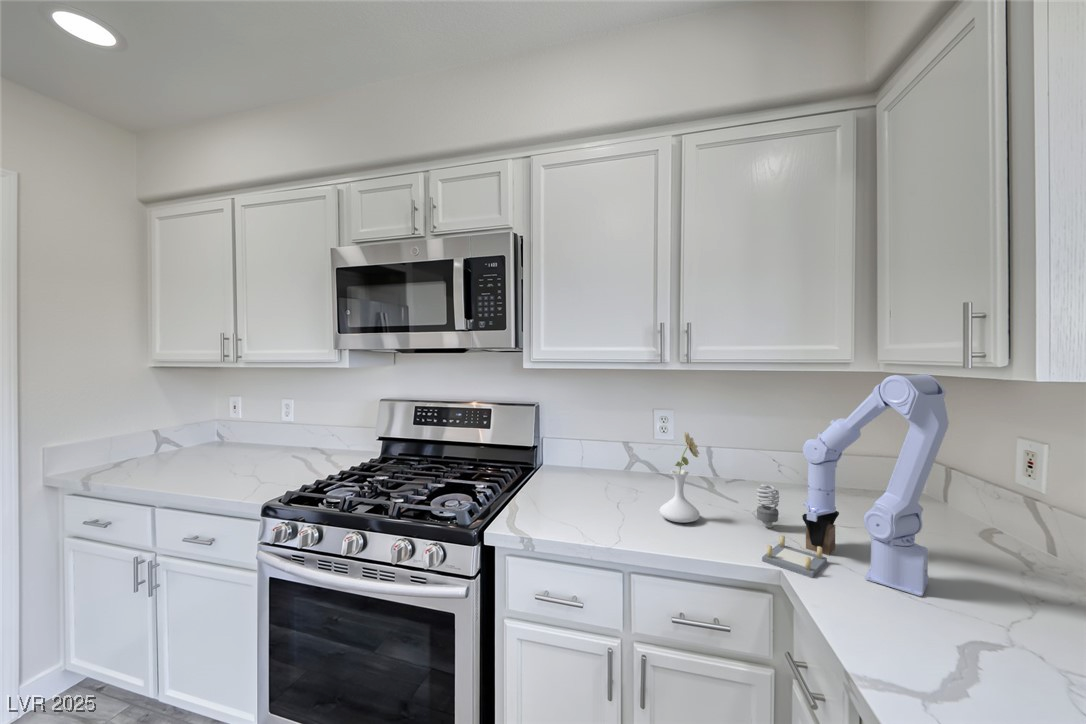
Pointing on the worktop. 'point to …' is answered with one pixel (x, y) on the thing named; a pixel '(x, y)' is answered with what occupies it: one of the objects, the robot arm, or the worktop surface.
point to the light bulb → (767, 512)
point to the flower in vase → (681, 491)
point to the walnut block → (828, 541)
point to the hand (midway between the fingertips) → (820, 542)
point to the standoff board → (795, 559)
